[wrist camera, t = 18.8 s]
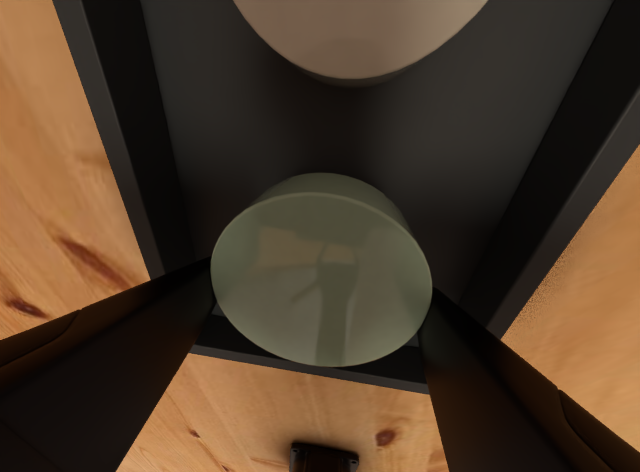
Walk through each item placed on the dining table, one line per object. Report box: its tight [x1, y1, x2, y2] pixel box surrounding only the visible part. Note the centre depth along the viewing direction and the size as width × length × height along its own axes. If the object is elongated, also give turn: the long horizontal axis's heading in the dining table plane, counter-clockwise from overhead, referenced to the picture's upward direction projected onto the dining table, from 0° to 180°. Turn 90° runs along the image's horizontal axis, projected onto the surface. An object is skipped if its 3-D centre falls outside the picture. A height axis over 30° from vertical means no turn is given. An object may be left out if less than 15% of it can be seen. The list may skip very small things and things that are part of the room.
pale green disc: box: [210, 173, 432, 367], centre depth 8 cm, size 7×7×2 cm
